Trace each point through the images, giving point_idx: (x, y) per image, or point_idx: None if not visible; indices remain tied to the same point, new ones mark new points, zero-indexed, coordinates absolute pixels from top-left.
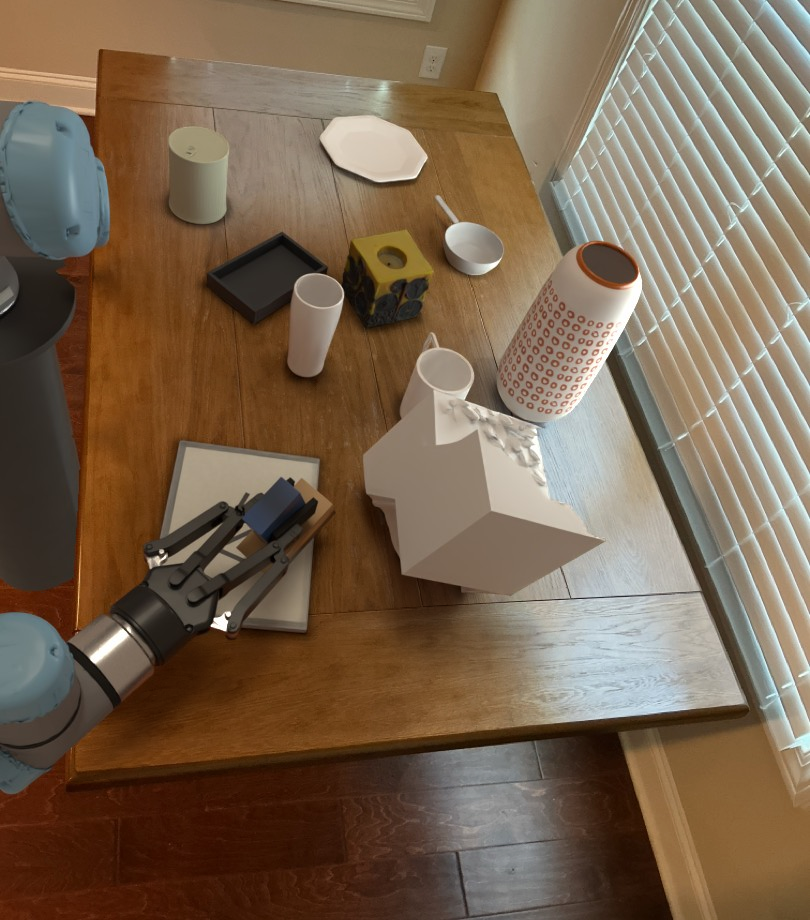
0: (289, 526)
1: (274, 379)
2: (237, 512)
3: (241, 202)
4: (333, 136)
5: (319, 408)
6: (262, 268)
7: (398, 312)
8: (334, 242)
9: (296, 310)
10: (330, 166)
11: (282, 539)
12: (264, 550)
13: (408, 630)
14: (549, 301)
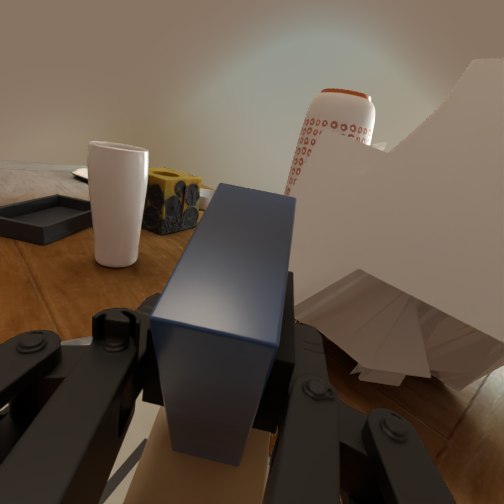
0: (293, 325)
1: (85, 275)
2: (108, 341)
3: (11, 194)
4: (82, 173)
5: (151, 285)
6: (43, 215)
7: (183, 219)
8: None
9: (98, 165)
10: (85, 183)
11: (303, 370)
12: (301, 429)
13: (485, 493)
14: (319, 130)
